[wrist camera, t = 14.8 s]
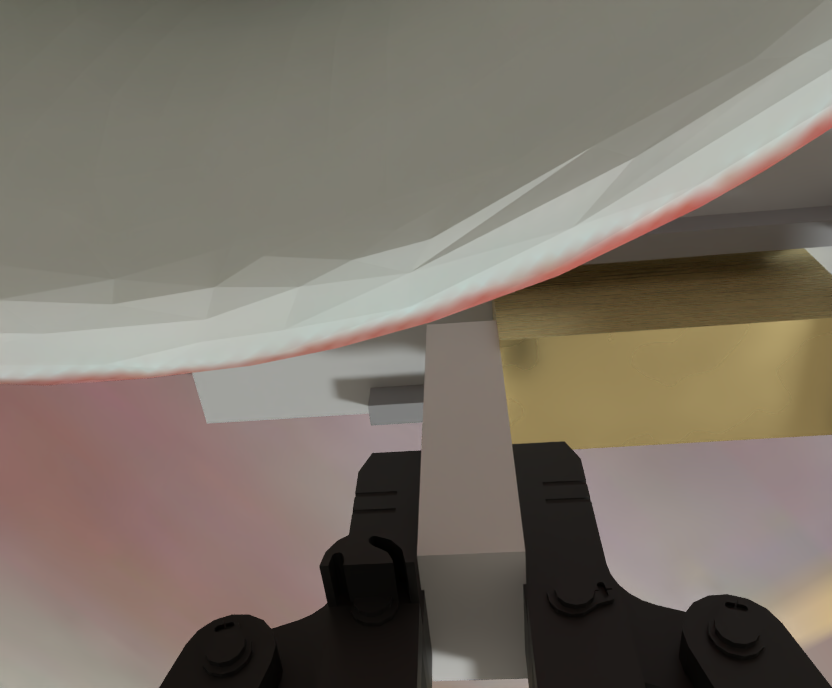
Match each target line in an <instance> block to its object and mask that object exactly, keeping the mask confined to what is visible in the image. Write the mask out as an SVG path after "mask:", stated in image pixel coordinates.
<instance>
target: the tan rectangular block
mask: <svg viewBox="0 0 832 688" xmlns="http://www.w3.org/2000/svg"><path fill="white" fill-rule="evenodd" d="M492 314H493V320H496V323H497V331H498V339H499V346H500V352H501V360H502V368H503V376H504V384H505V392H506V400H507V408H508V416H509V424H510V432H511V440H512V444H522V443H541V442H560V441H565V442H566V443H567V444H568V446H569V447H570V448H571V449H588V448H605V447H623V446H640V445H658V444H676V443H693V442H711V441H728V440H746V439H764V438H781V437H799V436H817V435H832V274H831V273H829V272H828V271H827V270H826V269H825V268H824V267H823V266H822V265H821V264H820V263H819V262H818V261H817V260H816V259H815V258H814V257H813V256H812V255H811V254H810V253H809V252H808V251H807V250H806V249H804V248H800V249H787V250H774V251H760V252H747V253H734V254H720V255H707V256H693V257H680V258H667V259H653V260H640V261H627V262H613V263H600V264H587V265H580V266H578V267H576V268H574V269H572V270H569V271H567V272H565V273H563V274H561V275H559V276H556V277H554V278H551V279H548V280H545V281H543V282H540V283H537V284H534V285H532V286H529V287H526V288H523V289H521V290H518V291H515V292H512V293H510V294H507V295H504V296H501V297H499V298H496V299H493V300H492Z"/></svg>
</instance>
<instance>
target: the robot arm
mask: <svg viewBox="0 0 832 688" xmlns="http://www.w3.org/2000/svg"><path fill="white" fill-rule="evenodd" d="M355 494H356V497H355V499H354V506H353V514H352V519H351V525H350V532H349V535H348V536H346V537H344V538H342V539H340V540H338V541H337V542H336V543H335V544H334V545H332V546H331V547H330V548H329V549H328V550H327V551H326V552H325V555H324V557H323V559H322V561H321V564H320V571H321V575H322V580H323V584H324V589H325V593H326V598H327V602H328V603H327V604H326V605H325V606H324V607H322V608H321V609H319V610H318V611H316V612H315V613H314V614H312V615H310V616H307V617H305V618H303V619H300V620H298V621H295V622H291V623H288V624H285V625H282V626H279V627H276V628H273V629H271V628H270V627H269V626H268V625H267V624H266V623H265V621H264V620H262V619H259V618H257V617H254V616H251V615H229V616H226V617H223V618H220V619H217V620H214V621H212V622H211V623H209V624H208V625H206V626H204V627H203V628H201V629H200V630H198V631H197V632H196V634H195V635H194V636H193V637H192V638H191V639H190V641H189V642H188V643H187V644H186V645H185V647H184V648H183V650H182V652H181V653H180V655H179V656H178V658H177V660H176V661H175V663H174V665H173V666H172V668H171V669H170V671H169V673H168V674H167V676H166V677H165V679H164V681H163V682H162V684H161V686H160V687H159V688H432V678H433V681H453V680H489V679H523V678H528V682H529V688H832V687H831V686H830V684H829V683H828V682H827V680H826V679H825V678H824V677H823V675H822V674H821V673H820V672H819V670H818V669H817V668H816V666H815V665H814V664H813V662H812V661H811V660H810V659H809V657H808V656H807V655H806V653H805V652H804V651H803V650H802V648H801V647H800V646H799V644H798V643H797V642H796V641H795V639H794V638H793V637H792V635H791V634H790V633H789V632H788V630H787V629H786V628H785V626H784V625H783V624H782V623H781V622H780V621H779V620H778V619H777V618H776V617H775V616H774V615H773V614H772V613H771V612H770V611H769V610H767V609H766V608H764V607H762V606H760V605H758V604H757V603H755V602H753V601H751V600H749V599H746V598H741V597H737V596H732V595H728V594H725V595H711V596H707V597H704V598H702V599H700V600H698V601H696V602H694V603H693V604H692V605H691V606H690V607H689V609H688V610H687V611H686V612H684V611H679V610H675V609H671V608H666V607H662V606H658V605H655V604H652V603H648V602H645V601H642V600H641V599H639V598H637V597H635V596H633V595H631V594H629V593H628V592H627V591H626V590H625V589H623V588H622V587H621V586H620V585H619V584H618V583H617V582H616V581H615V579H614V578H613V577H612V575H611V574H610V571H609V569H608V567H607V564H606V560H605V556H604V552H603V548H602V544H601V540H600V536H599V532H598V528H597V524H596V519H595V515H594V511H593V507H592V503H591V502H590V495H589V491H588V487H587V484H586V479H585V475H584V470H583V466H582V462H581V459H580V458H579V457H578V456H577V454H576V453H575V452H574V451H573V450H572V449H571V448H570V447H569V446H568V444H567V443H566V442H565V441H560V442H541V443H522V444H512V440H511V432H510V424H509V416H508V408H507V400H506V392H505V384H504V376H503V368H502V360H501V352H500V346H499V339H498V331H497V323H496V320H492V321H477V322H461V323H446V324H430V325H427V331H426V354H425V378H424V402H423V425H422V449H421V451H404V452H385V453H372V454H371V456H370V457H369V459H368V460H367V461H366V463H365V464H364V465H363V467H362V468H361V469H360V471H359V472H358V479H357V486H356V492H355Z"/></svg>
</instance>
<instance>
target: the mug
mask: <svg viewBox="0 0 832 688" xmlns="http://www.w3.org/2000/svg"><path fill="white" fill-rule="evenodd" d="M831 128H832V0H0V384H16V385H58V384H72V383H87V382H101V381H116V380H130V379H145V378H155V377H163V376H170V375H178V374H186V373H194V372H203V371H211V370H220V369H228V368H237V367H245V366H252V365H257V364H262V363H267V362H272V361H277V360H282V359H287V358H292V357H296V356H301V355H306V354H311V353H316V352H321V351H326V350H331V349H336V348H340V347H343V346H347V345H351V344H354V343H358V342H361V341H365V340H369V339H372V338H376V337H379V336H383V335H387V334H390V333H394V332H397V331H401V330H405V329H408V328H412V327H415V326H419V325H423V324H426V323H430V322H433V321H435V320H438V319H441V318H444V317H446V316H449V315H452V314H455V313H457V312H460V311H463V310H466V309H468V308H471V307H474V306H477V305H479V304H482V303H485V302H488V301H490V300H493V299H496V298H499V297H501V296H504V295H507V294H510V293H512V292H515V291H518V290H521V289H523V288H526V287H529V286H532V285H534V284H537V283H540V282H543V281H545V280H548V279H551V278H554V277H556V276H559V275H561V274H563V273H565V272H567V271H569V270H572V269H574V268H576V267H578V266H580V265H582V264H584V263H586V262H588V261H590V260H592V259H594V258H596V257H598V256H600V255H603V254H605V253H607V252H609V251H611V250H613V249H615V248H617V247H619V246H621V245H623V244H625V243H627V242H629V241H631V240H634V239H636V238H638V237H640V236H642V235H644V234H646V233H648V232H650V231H652V230H654V229H656V228H658V227H660V226H662V225H664V224H667V223H669V222H671V221H673V220H675V219H677V218H679V217H681V216H683V215H685V214H687V213H689V212H691V211H693V210H695V209H698V208H700V207H701V206H703V205H705V204H707V203H709V202H710V201H712V200H714V199H716V198H717V197H719V196H721V195H723V194H724V193H726V192H728V191H730V190H732V189H733V188H735V187H737V186H739V185H740V184H742V183H744V182H746V181H747V180H749V179H751V178H753V177H755V176H756V175H758V174H760V173H762V172H763V171H765V170H767V169H768V168H770V167H771V166H773V165H775V164H776V163H778V162H779V161H781V160H782V159H784V158H786V157H787V156H789V155H790V154H792V153H793V152H795V151H797V150H798V149H800V148H801V147H803V146H804V145H806V144H808V143H809V142H811V141H812V140H814V139H815V138H817V137H819V136H820V135H822V134H823V133H825V132H826V131H828V130H829V129H831Z"/></svg>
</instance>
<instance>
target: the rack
mask: <svg viewBox="0 0 832 688" xmlns="http://www.w3.org/2000/svg"><path fill="white" fill-rule="evenodd" d="M800 248H804V249H806V250H807V251H808V252H809V253H810V254H811V255H812V256H813V257H814V258H815V259H816V260H817V261H818V262H819V263H820V264H821V265H822V266H823V267H824V268H825V269H826V270H827V271H828V272H829V273H831V274H832V128H831V129H829V130H828V131H826V132H825V133H823V134H822V135H820V136H819V137H817V138H815V139H814V140H812V141H811V142H809V143H808V144H806V145H804V146H803V147H801V148H800V149H798V150H797V151H795V152H793V153H792V154H790V155H789V156H787V157H786V158H784V159H782V160H781V161H779V162H778V163H776V164H775V165H773V166H771V167H770V168H768V169H767V170H765V171H763V172H762V173H760V174H758V175H756V176H755V177H753V178H751V179H749V180H747V181H746V182H744V183H742V184H740V185H739V186H737V187H735V188H733V189H732V190H730V191H728V192H726V193H724V194H723V195H721V196H719V197H717V198H716V199H714V200H712V201H710V202H709V203H707V204H705V205H703V206H701V207H700V208H698V209H695V210H693V211H691V212H689V213H687V214H685V215H683V216H681V217H679V218H677V219H675V220H673V221H671V222H669V223H667V224H664V225H662V226H660V227H658V228H656V229H654V230H652V231H650V232H648V233H646V234H644V235H642V236H640V237H638V238H636V239H634V240H631V241H629V242H627V243H625V244H623V245H621V246H619V247H617V248H615V249H613V250H611V251H609V252H607V253H605V254H603V255H600V256H598V257H596V258H594V259H592V260H590V261H588V262H586V263H584V264H582V265H587V264H600V263H613V262H627V261H640V260H653V259H667V258H680V257H693V256H707V255H720V254H734V253H747V252H760V251H774V250H787V249H800ZM492 320H493V314H492V300H490V301H488V302H485V303H482V304H479V305H477V306H474V307H471V308H468V309H466V310H463V311H460V312H457V313H455V314H452V315H449V316H446V317H444V318H441V319H438V320H435V321H433V322H430V323H426V324H423V325H419V326H415V327H412V328H408V329H405V330H401V331H397V332H394V333H390V334H387V335H383V336H379V337H376V338H372V339H369V340H365V341H361V342H358V343H354V344H351V345H347V346H343V347H340V348H336V349H331V350H326V351H321V352H316V353H311V354H306V355H301V356H296V357H292V358H287V359H282V360H277V361H272V362H267V363H262V364H257V365H252V366H245V367H237V368H228V369H220V370H211V371H203V372H194V373H192V374H193V377H194V381H195V384H196V388H197V391H198V394H199V398H200V401H201V405H202V408H203V411H204V415H205V418H206V422H207V423H222V422H238V421H254V420H271V419H287V418H303V417H319V416H336V415H352V414H368V413H369V416H370V422H371V425H386V424H402V423H419V422H423V402H424V378H425V354H426V331H427V325H430V324H446V323H461V322H477V321H492Z"/></svg>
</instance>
